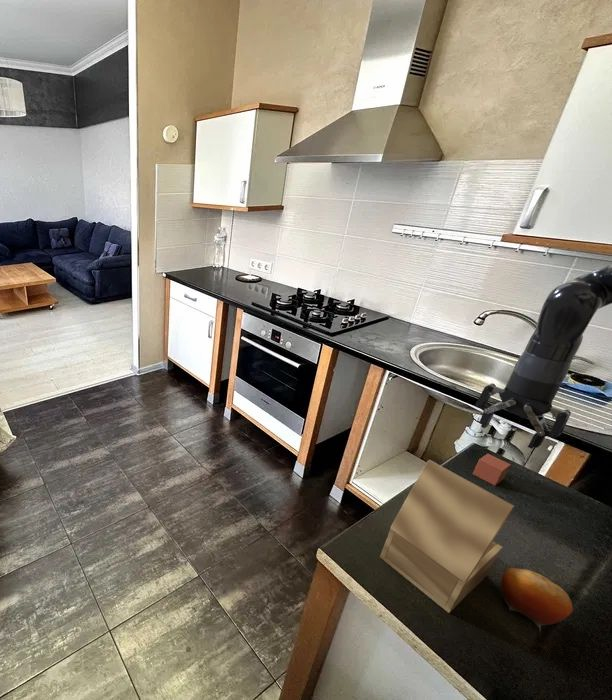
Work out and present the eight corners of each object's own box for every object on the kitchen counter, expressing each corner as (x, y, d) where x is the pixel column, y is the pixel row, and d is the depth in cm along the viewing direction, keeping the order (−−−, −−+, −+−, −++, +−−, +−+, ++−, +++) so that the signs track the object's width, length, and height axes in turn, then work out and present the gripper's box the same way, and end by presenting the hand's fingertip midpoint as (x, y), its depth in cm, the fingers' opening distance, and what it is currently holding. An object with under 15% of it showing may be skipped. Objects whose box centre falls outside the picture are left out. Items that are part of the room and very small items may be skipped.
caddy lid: (429, 459, 64) (428, 459, 64) (515, 506, 55) (513, 506, 55) (391, 527, 68) (389, 528, 67) (466, 582, 59) (464, 583, 58)
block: (481, 467, 93) (487, 453, 91) (503, 479, 90) (511, 464, 88) (472, 473, 91) (479, 459, 89) (495, 485, 88) (502, 470, 86)
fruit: (494, 610, 61) (513, 564, 60) (489, 596, 67) (507, 555, 66) (565, 650, 55) (586, 601, 55) (553, 632, 61) (572, 587, 61)
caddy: (418, 527, 77) (429, 501, 74) (487, 575, 68) (503, 547, 65) (379, 557, 71) (390, 529, 68) (448, 613, 61) (464, 584, 58)
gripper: (592, 384, 75) (555, 449, 81) (503, 357, 86) (477, 416, 93) (579, 393, 71) (541, 460, 78) (488, 364, 83) (462, 424, 89)
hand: (506, 436), depth 85 cm, fingers open, 8 cm apart
